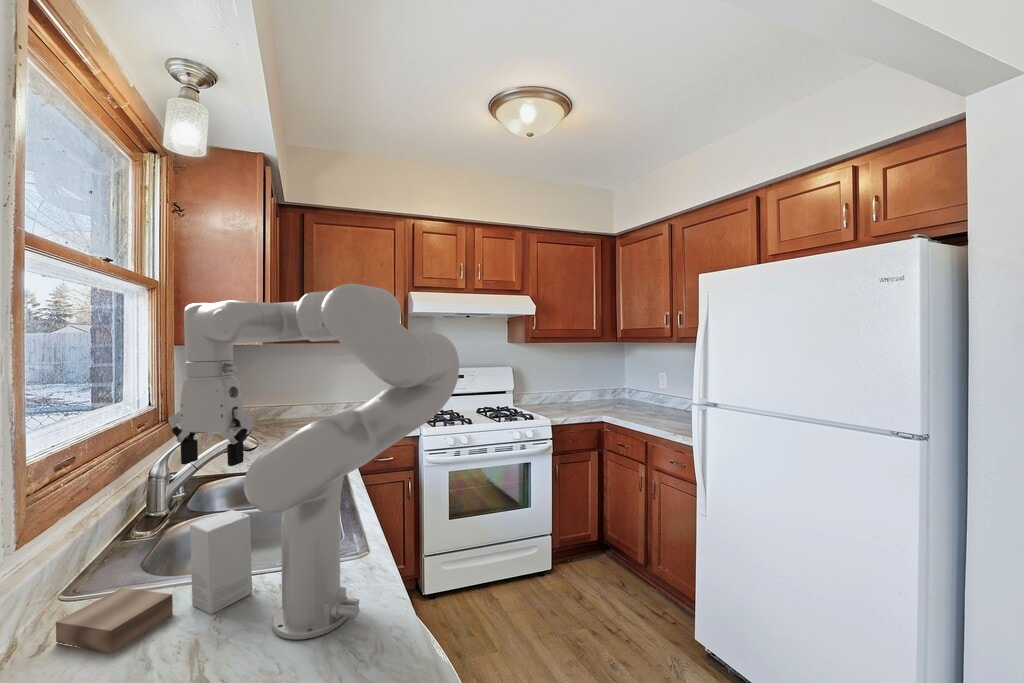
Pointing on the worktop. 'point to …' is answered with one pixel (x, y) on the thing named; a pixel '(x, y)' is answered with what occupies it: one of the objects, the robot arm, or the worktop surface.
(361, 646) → the worktop surface
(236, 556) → the skincare box
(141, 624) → the walnut block
